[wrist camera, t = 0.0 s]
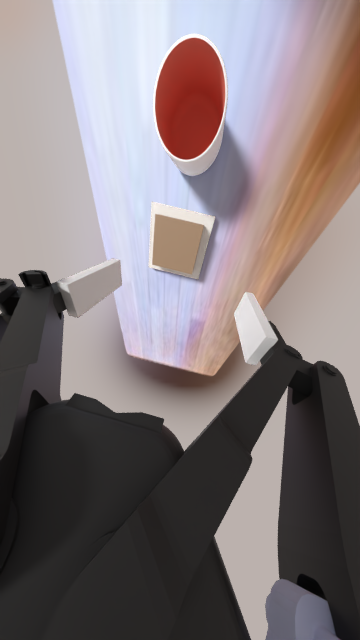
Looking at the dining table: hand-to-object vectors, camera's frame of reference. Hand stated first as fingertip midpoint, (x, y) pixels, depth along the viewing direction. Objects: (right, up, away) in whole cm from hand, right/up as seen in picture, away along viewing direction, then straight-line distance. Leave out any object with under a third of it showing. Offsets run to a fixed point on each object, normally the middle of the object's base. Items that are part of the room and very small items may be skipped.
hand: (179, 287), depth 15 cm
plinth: (0, +17, +23) cm, 29 cm away
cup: (+3, +31, +12) cm, 33 cm away
